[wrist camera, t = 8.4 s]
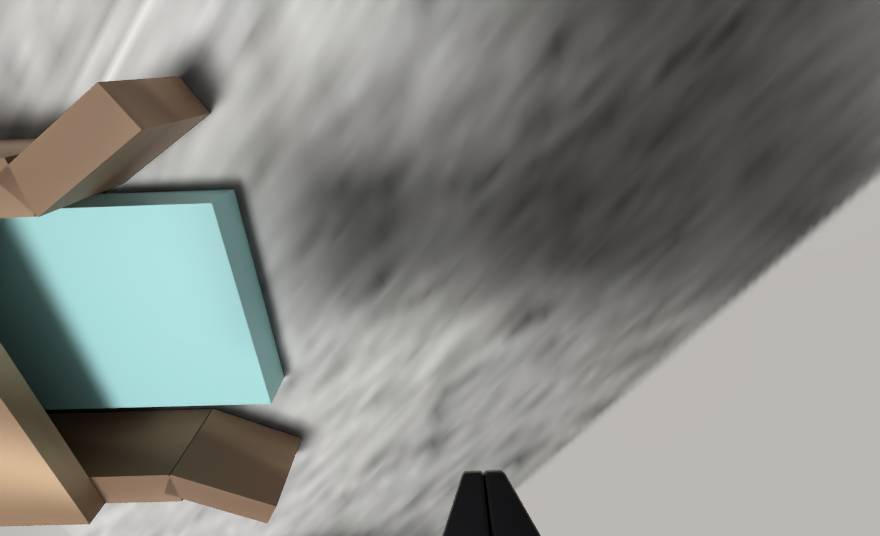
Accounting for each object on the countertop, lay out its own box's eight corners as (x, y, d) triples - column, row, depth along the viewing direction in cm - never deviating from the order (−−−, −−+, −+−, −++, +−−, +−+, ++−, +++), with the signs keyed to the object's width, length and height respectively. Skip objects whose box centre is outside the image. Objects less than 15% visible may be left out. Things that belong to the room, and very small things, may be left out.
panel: (288, 369, 18) (271, 403, 16) (12, 376, 18) (-36, 411, 16) (240, 185, 14) (211, 202, 12) (-104, 197, 14) (-182, 216, 12)
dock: (305, 453, 19) (274, 544, 16) (22, 462, 20) (-71, 552, 16) (199, 75, 12) (97, 83, 8) (-249, 97, 12) (-532, 114, 9)
